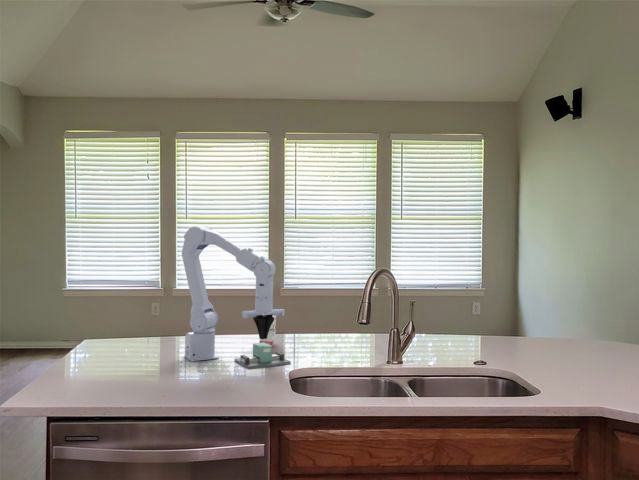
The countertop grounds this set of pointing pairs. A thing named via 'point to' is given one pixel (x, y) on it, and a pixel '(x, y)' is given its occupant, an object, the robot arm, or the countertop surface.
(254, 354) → the block
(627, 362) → the countertop surface
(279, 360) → the rail plate
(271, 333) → the ink box
